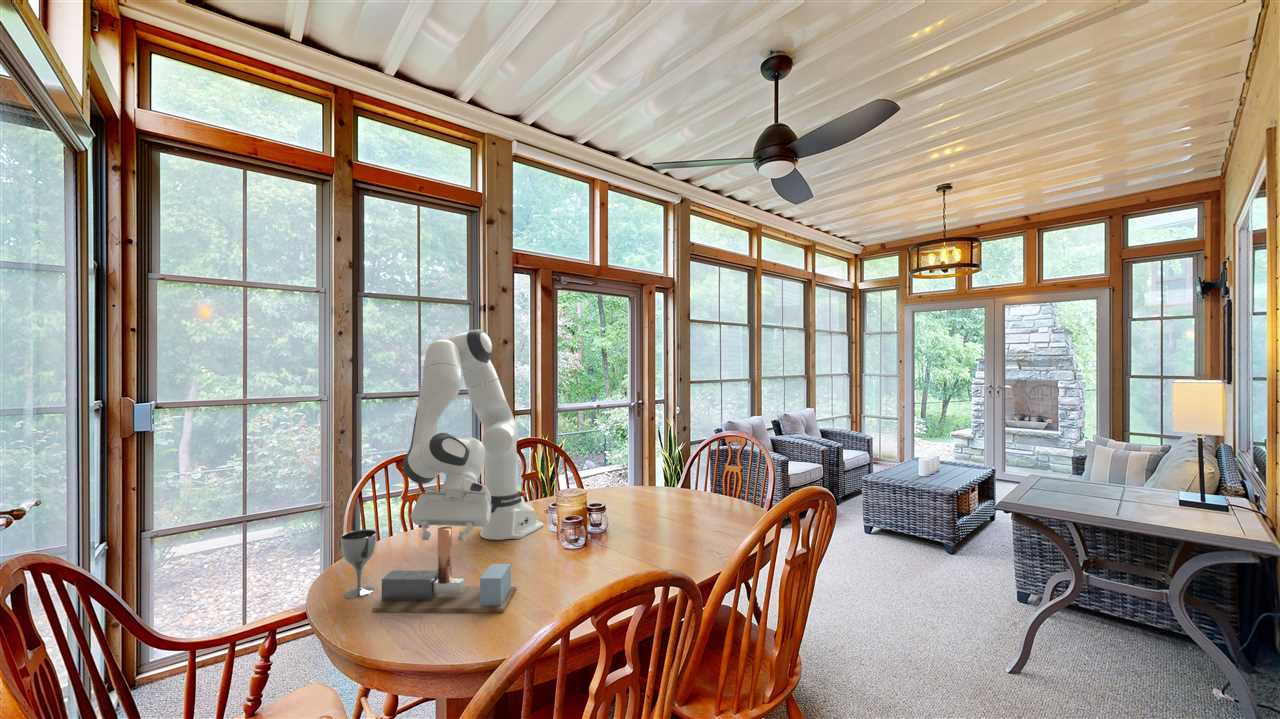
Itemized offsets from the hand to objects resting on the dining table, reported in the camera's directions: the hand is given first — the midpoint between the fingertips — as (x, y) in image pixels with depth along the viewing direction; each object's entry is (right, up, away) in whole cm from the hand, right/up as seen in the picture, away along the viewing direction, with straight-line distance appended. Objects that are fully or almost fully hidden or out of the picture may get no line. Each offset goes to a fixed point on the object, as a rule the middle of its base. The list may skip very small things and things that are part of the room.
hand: (443, 539), depth 134 cm
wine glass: (-22, -14, +2) cm, 27 cm away
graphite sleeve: (-7, -13, -3) cm, 15 cm away
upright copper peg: (-3, -12, -3) cm, 13 cm away
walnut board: (+2, -14, -3) cm, 15 cm away
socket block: (+14, -13, -3) cm, 20 cm away
